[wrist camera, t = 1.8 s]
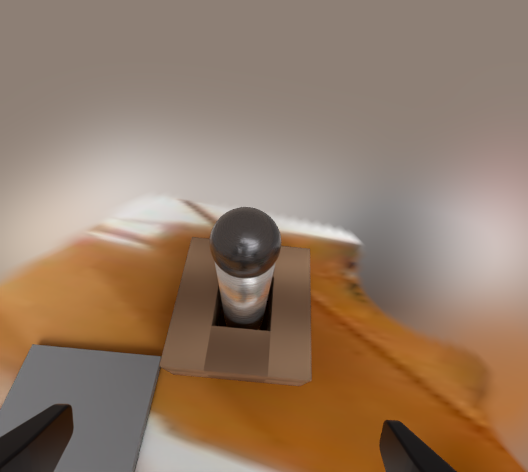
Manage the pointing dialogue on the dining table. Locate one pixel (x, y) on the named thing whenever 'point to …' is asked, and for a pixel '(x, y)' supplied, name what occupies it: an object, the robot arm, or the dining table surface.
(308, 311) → the block
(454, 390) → the dining table surface
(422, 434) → the dining table surface
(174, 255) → the dining table surface
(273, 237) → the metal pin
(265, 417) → the dining table surface
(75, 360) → the slate pad
